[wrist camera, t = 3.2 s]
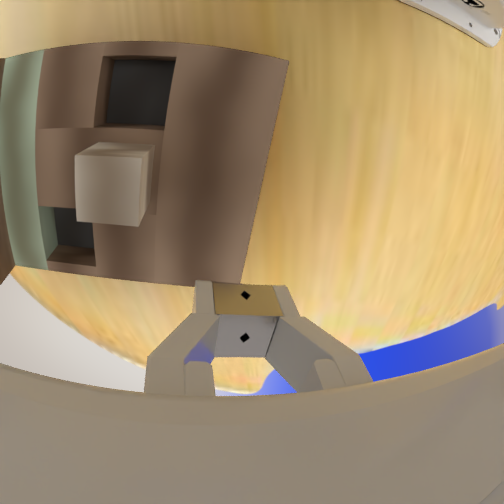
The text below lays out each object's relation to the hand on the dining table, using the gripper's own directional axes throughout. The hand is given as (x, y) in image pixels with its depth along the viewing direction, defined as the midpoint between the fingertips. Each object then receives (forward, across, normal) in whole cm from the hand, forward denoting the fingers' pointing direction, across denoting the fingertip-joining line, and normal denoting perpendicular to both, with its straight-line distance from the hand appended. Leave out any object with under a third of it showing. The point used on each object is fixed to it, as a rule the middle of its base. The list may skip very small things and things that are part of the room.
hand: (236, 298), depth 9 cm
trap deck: (+15, +8, -1) cm, 17 cm away
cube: (+12, +6, -1) cm, 13 cm away
